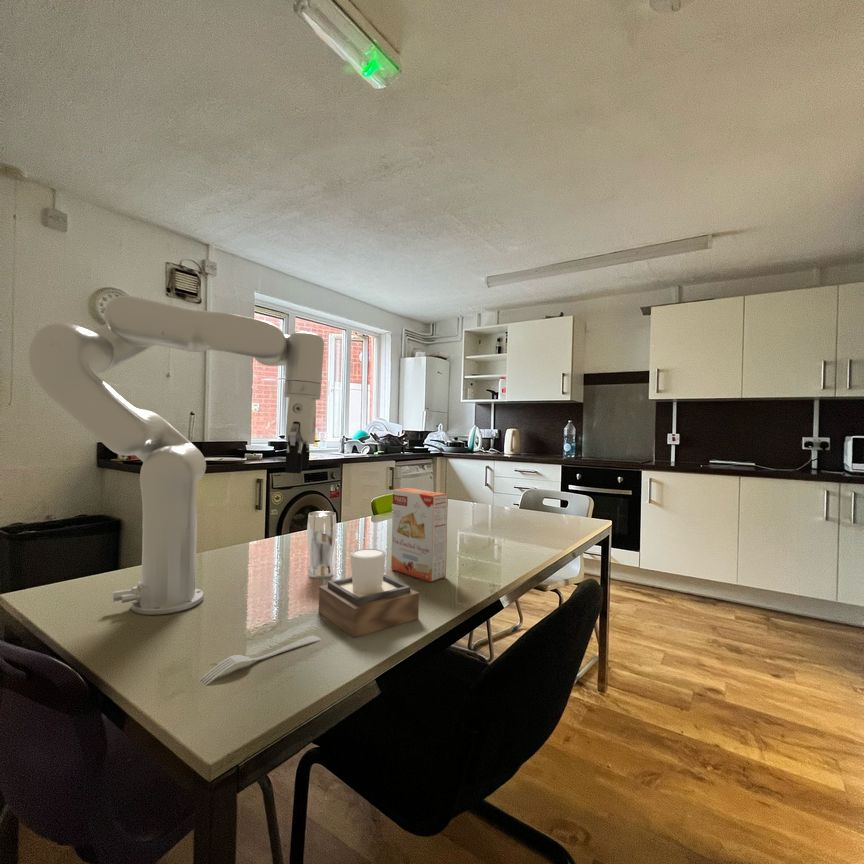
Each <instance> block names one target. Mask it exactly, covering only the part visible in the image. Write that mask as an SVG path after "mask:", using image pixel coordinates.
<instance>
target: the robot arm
mask: <svg viewBox="0 0 864 864" xmlns="http://www.w3.org/2000/svg"><path fill="white" fill-rule="evenodd" d="M103 317H104V321H105V324H103V325H101V326H98V327H97V328H95V329H93V330H90V329H87V328H85V327H82V326H81V325H77V324H73V323H71V322H70V323H69V322H54V323H49V324H46V325H44V326H42V327H41V328H39V329H38V330H37V331H36V333H35V334H34V336H33V337H32V339H31V341H30V343H29V346H28V347H29V348H28V363H29V368H30V371H31V374H32V377H33V378H34V380H35V381H36V383H37V384H38V386H39V387H40V388H41V390H42V391H43V392H44V393H45V394H46V395H47V396H48V397H49V398H50V399H51V400H52V401H53V402H54V403H56V404H57V405H58V406H59V407H60V408H62V409H63V410H64V411H66V413H67V414H69V415H70V416H71V417H72V418H73V419H75V421H77V423H78V424H80V425H81V426H82V427H83V428H84V429H86V431H88V432H89V433H90V434H92V436H93V437H95V438H96V439H98V441H100V442H101V443H102V444H103V445H104V446H105V447H106V448H108V449H109V450H110V451H112V452H113V453H115V454H117V455H119V456H126V457H127V456H129V457H130V456H135V457H136V458H138V459H139V460H140V461H141V462H142V465H141V467H140V472H139V473H140V474H139V483H140V492H141V502H142V503H141V504H142V505H141V506H142V524H141V525H142V526H141V527H142V535H141V536H142V541H141V543H142V544H141V549H142V550H141V580H139V581H137V585H135V586H134V585H133V586H132V587H131V588H130V589H129V588H128V589H119V590H118V589H117V590H114V591H113V590H112V595H111V596H112V602H113V603H114V602H119V601H121V603H122V604H125V603H129V602H131V610H132V611H133V612H135V613H137V614H140V615H151V616H154V615H156V616H157V615H167V614H173V613H178V612H182V611H186V610H189V609H191V608H193V607H195V606H197V605H199V604H200V603H201V602H203V600H204V596H205V595H204V591H202V589H200V588H196V583H197V582H196V577H197V573H196V572H197V571H196V570H197V569H196V568H197V535H198V533H197V530H198V523H197V520H198V513H197V512H198V510H197V509H198V504H197V503H198V502H197V487H196V484H197V483H198V482H200V481H201V480H202V479H203V477H204V475H205V473H206V470H207V461H206V458H205V456H204V455H203V453H202V452H201V450H200V449H199V448H198V447H197V446H196V445H194V444H193V443H192V442H191V441H190V440H189V439H188V438H187V437H185V436H184V435H183V434H182V433H181V432H180V431H178V430H177V429H176V428H175V427H174V426H173V425H172V424H171V423H169V421H167V420H166V419H165V418H163V417H162V416H160V415H159V414H158V413H156V412H154V411H151V410H148V409H143V408H138V407H136V406H134V405H132V404H131V402H129V401H128V400H126V399H125V398H124V397H123V396H121V394H119V393H118V392H117V391H116V390H115V389H114V388H113V387H112V386H111V385H110V384H108V382H106V381H104V380H103V379H101V378H100V377H99V376H97V374H103V373H106V372H108V371H110V370H112V369H114V368H116V367H118V366H120V365H121V364H123V363H125V362H127V361H129V360H131V359H133V358H135V357H136V356H138V355H141V354H142V353H144V352H146V351H147V350H149V349H152V347H154V346H160V347H165V348H166V347H167V348H171V349H175V350H182V351H185V352H190V353H202V352H207V351H216V352H217V351H218V352H225V353H231V354H236V355H240V356H246V357H249V358H250V357H251V358H254V360H255V361H256V362H257V363H259V364H261V365H265V366H268V367H276V366H277V367H279V366H285V376H284V377H285V379H284V392H283V393H284V395H283V396H284V397H285V398H288V405H287V414H286V415H287V416H286V427H285V428H286V429H285V441H286V442H287V447H286V453H285V466H284V467H285V468H284V472H285V473H286V474H301V473H302V471H303V470H308V469H309V468H310V445H312V444H314V443H315V442H316V426H317V425H316V424H317V423H316V422H317V402H316V401H317V400H321V396H322V395H321V393H322V379H323V378H322V377H323V364H324V353H325V351H324V350H325V341H324V339H323V337H322V336H320V335H319V334H316V333H313V332H307V331H297V332H292V333H291V334H289V335H288V334H284V332H283V330H281V328H280V327H278V326H277V325H275V324H273V323H272V322H269V321H266V320H263V319H257V318H253V317H248V316H242V315H239V314H233V313H229V312H228V313H227V312H219V311H211V310H199V309H195V308H190V307H185V306H179V305H177V304H172V303H171V304H170V303H167V302H162V301H157V300H153V299H149V298H143V297H139V296H134V295H119V296H116V297H113V298H112V299H110V300H109V301H108V302H107V303H106V306H105V307H104V312H103Z"/></svg>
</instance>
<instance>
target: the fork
mask: <svg viewBox="0 0 864 864" xmlns="http://www.w3.org/2000/svg"><path fill="white" fill-rule="evenodd" d="M320 641H322V638H320V637H318V636H316V635H309V636H305V637H303V638H301V639H298V640H296V641H293V642H291V643H289V644H288V645H285V646H282V647H281V648H278V649H276V650H274V651H271V652H268V653H266V654H263V655H260V656H257V657H248V656H245V655H242V654H235V655H231V656H228V657H227V658H224V659H223V660H222V661H220V662H219V663H218V664H217V665H215V666H214V667H212V669H210V670H209V671H208V672H206V674H204V675H203V676H202V677H201V678H200V679H199V680H198V682H200V684H201V683H202V685H203V687H205V686H208V685H209V684H210V683H211V682H213V681H214V680H215V679H217V678H218V677H219V676H221V675H222V674H223V673H225V672H226V671H228V670H229V669H231V668H233V667H234V666H236V665H238V664H241V663H248V662H250V663H251V662H252V661H253V662H255V661H256V662H257V661H261V660H265V659H268V658H271V657H275V656H276V655H279V654H282V653H285V652H287V651H288V652H289V651H291V650H293V649H297V648H301V647H303V646H306V645H307V646H308V645H311V644H314V643H317V642H320Z"/></svg>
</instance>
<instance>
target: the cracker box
mask: <svg viewBox="0 0 864 864" xmlns="http://www.w3.org/2000/svg"><path fill="white" fill-rule="evenodd" d="M448 499H449V494H448V493H443V492H436V491H431V490H424V489H418V488H414V487H413V488H411V487H403V488H402V487H401V488H395V489H392V528H391V557H390V559H391V563H390V564H391V565H390V566H391V567H390V568H391V570H393V571H397V572H399V573H401V574H402V573H403V574H405V575H408V576H412V577H414V578H417V579H420V580H422V581H427V582H428V583H432V582H435V581H438V580H441V579H444V578H446V577H447V546H448V545H447V543H448V542H447V541H448V509H449V508H448V506H449V505H448V503H449V500H448Z"/></svg>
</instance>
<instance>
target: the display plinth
mask: <svg viewBox="0 0 864 864" xmlns="http://www.w3.org/2000/svg"><path fill="white" fill-rule="evenodd" d="M419 606H420V592H419V591H417V590H414V589H413V588H411V586H409V585H408V584H405V583H403V582H401V581H399V580H397V579H395V578H392V577H390V576H388V575H386V574H384V575H383V583H382V589H381V591H379V592H376V593H371V594H362V593H357V592H355V591H353V584H352V576H349V577H345V578H340V579H334V580H330V581H327V584H325V585H324V584H323V585H320V586H318V613H320V614H321V615H323V617H325V618H327V619H328V620H329V621H331V622H332V623H333V624H335V625H336V626H337V627H339V628H340V629H341V630H343V631H344V632H345V633H347V634H348V635H349V636H351V637H352V638H358V637H361V636H364V635H365V636H366V635H369V634H371V633H375V632H378V631H382V630H385V629H388V628H392V627H395V626H399V625H402V624H406V623H408V622H411V621H415V620H418V619H419V613H420V612H419V609H420V608H419Z"/></svg>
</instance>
